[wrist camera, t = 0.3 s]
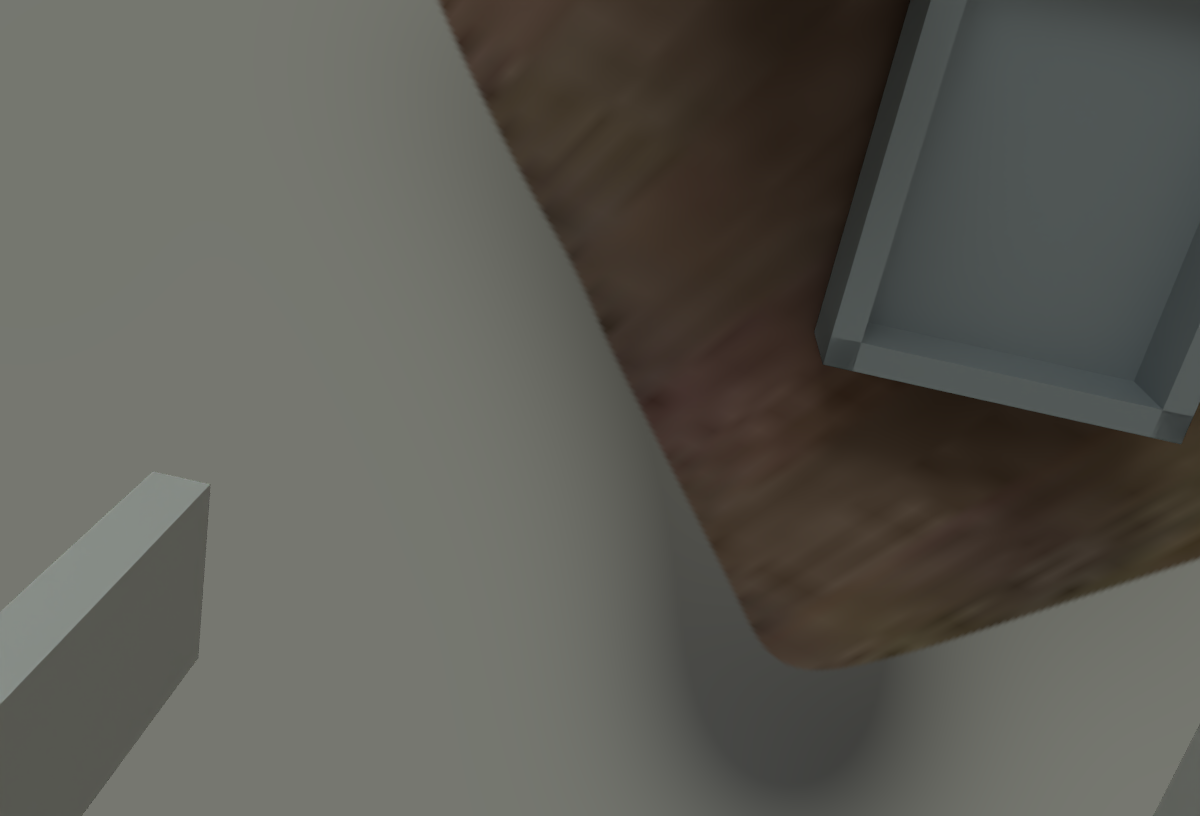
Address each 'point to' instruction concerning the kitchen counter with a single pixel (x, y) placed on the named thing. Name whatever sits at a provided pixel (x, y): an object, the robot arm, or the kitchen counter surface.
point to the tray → (1032, 213)
